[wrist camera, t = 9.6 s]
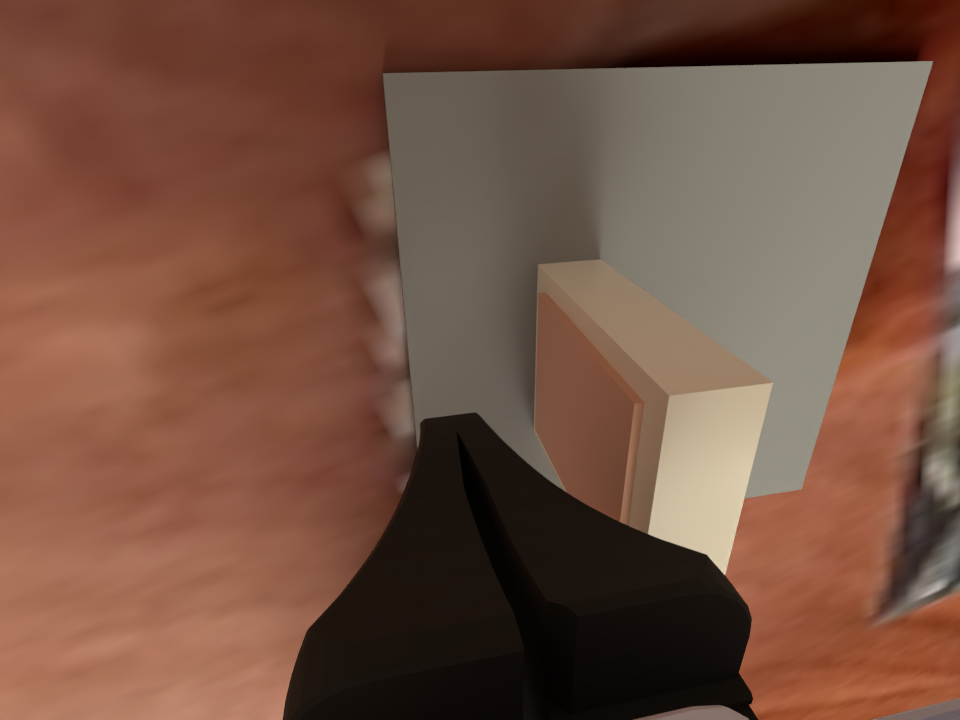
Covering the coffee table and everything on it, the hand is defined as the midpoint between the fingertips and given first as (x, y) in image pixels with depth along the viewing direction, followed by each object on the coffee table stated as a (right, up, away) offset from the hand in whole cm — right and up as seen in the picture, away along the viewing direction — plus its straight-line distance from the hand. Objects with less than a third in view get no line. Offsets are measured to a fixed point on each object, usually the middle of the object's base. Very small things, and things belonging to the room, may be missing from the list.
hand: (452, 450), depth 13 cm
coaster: (+3, +2, +5) cm, 7 cm away
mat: (+6, +3, +6) cm, 9 cm away
